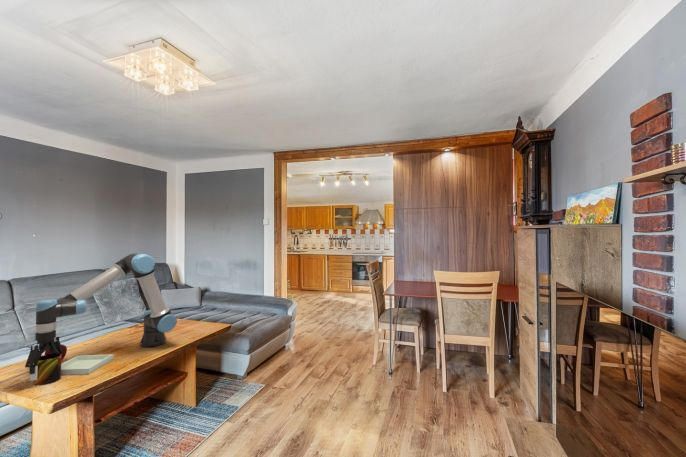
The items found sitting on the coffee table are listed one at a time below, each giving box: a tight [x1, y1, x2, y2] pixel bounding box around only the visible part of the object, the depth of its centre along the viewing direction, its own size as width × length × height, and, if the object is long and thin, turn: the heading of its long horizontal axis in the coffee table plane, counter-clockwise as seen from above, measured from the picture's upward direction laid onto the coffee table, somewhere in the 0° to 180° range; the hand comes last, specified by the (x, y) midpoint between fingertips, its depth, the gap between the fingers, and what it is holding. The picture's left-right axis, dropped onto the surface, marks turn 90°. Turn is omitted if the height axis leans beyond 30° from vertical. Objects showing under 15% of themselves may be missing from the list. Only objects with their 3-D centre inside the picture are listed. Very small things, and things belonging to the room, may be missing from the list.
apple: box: [44, 343, 68, 362], centre depth 178 cm, size 10×10×10 cm
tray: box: [61, 354, 115, 376], centre depth 171 cm, size 20×20×3 cm
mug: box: [33, 353, 62, 386], centre depth 155 cm, size 10×14×12 cm
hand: (44, 374), depth 155 cm, fingers open, 12 cm apart
